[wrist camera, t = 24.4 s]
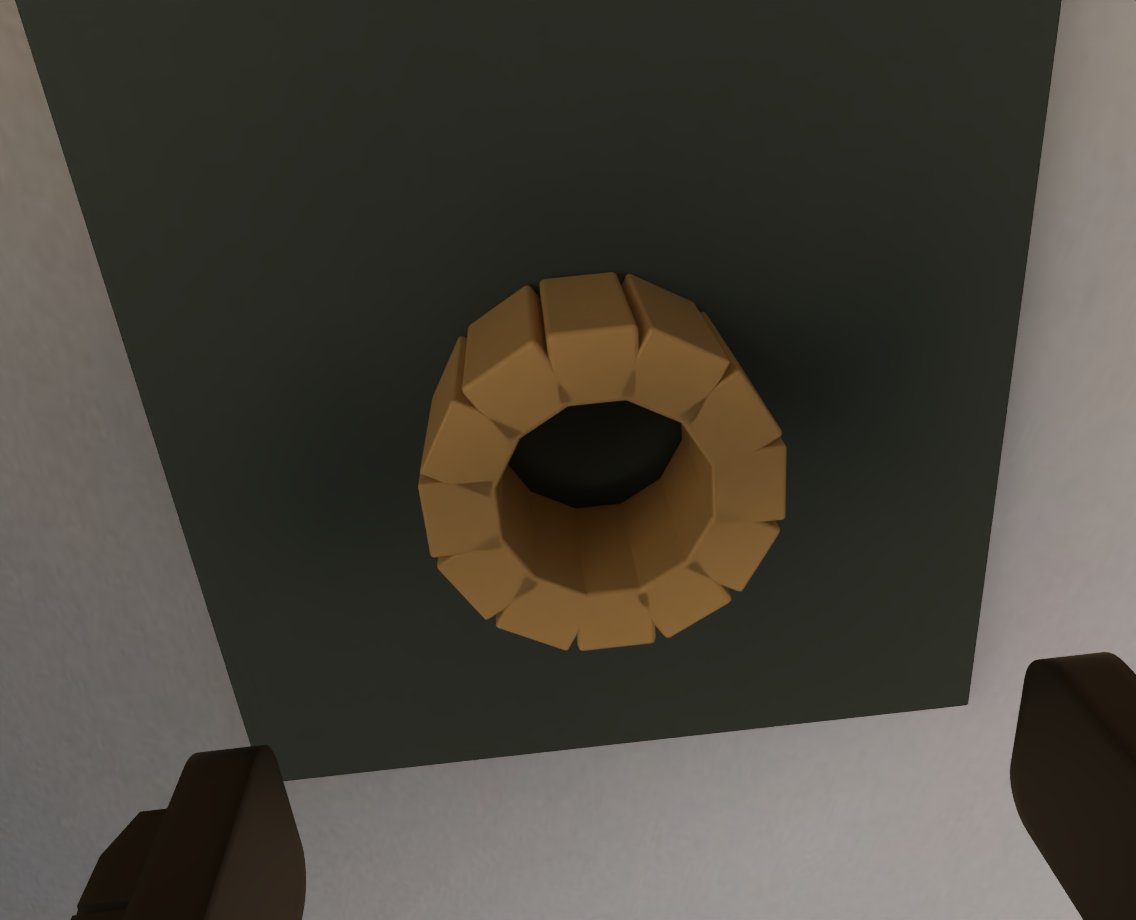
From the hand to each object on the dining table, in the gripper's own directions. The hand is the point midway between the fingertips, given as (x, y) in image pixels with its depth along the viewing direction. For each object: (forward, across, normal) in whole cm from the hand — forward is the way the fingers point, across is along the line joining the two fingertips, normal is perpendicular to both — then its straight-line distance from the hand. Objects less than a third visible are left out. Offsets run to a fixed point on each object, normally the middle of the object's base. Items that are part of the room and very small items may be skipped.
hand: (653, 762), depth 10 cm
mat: (+9, 0, 0) cm, 9 cm away
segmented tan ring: (+8, 0, 0) cm, 9 cm away
